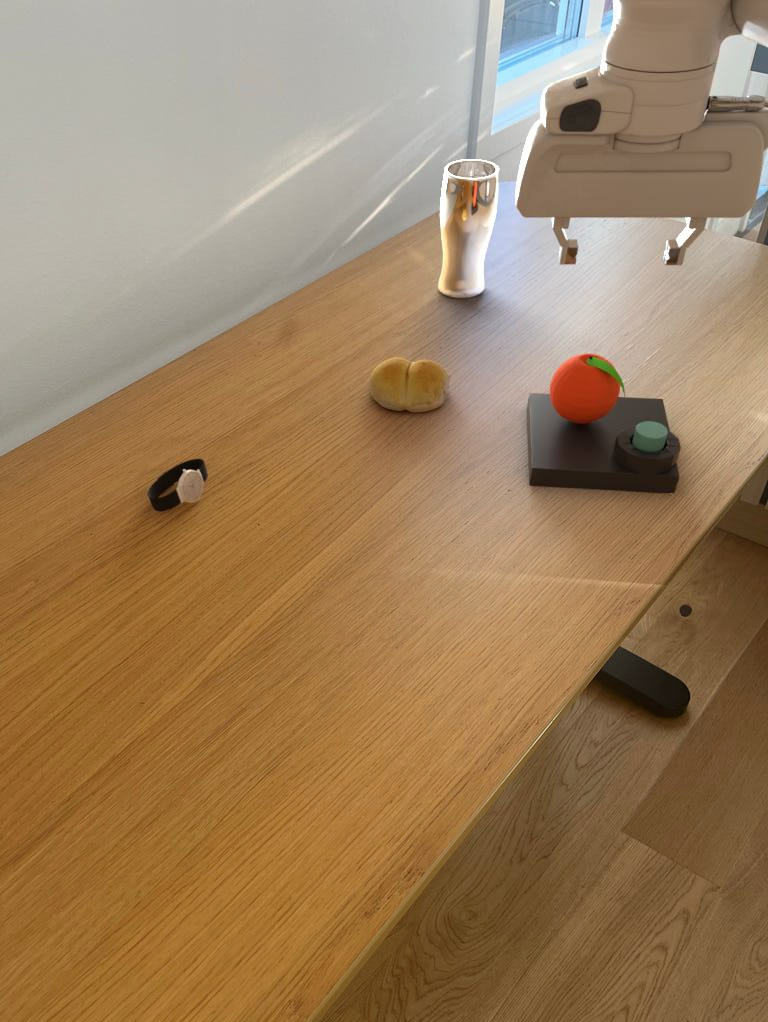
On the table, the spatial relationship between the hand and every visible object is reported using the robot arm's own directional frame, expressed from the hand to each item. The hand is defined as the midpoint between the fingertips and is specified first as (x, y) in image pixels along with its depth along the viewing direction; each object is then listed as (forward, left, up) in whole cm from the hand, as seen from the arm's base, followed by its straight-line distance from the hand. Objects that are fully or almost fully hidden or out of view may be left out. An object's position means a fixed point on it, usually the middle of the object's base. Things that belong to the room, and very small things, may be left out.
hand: (618, 262), depth 88 cm
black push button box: (-1, +3, -19) cm, 19 cm away
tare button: (-5, +7, -15) cm, 17 cm away
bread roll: (+19, -6, -19) cm, 27 cm away
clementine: (0, +1, -17) cm, 17 cm away
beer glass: (+14, -33, -19) cm, 41 cm away
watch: (+41, +15, -19) cm, 47 cm away
